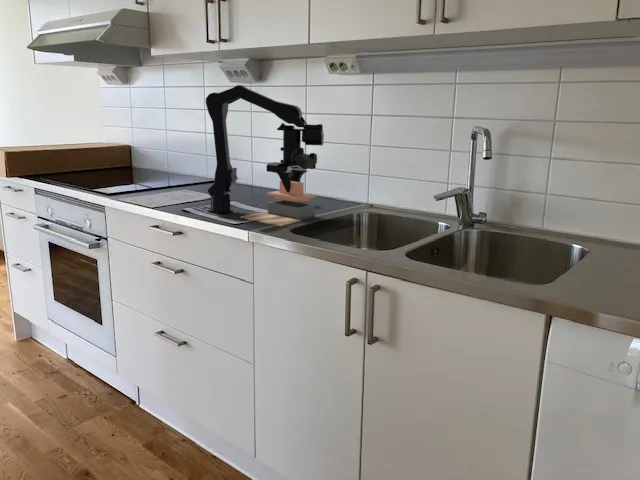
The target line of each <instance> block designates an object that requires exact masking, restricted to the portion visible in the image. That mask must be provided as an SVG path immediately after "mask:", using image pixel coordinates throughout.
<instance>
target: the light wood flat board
mask: <svg viewBox="0 0 640 480" xmlns="http://www.w3.org/2000/svg"><path fill="white" fill-rule="evenodd" d="M239 217H240V219H243V218H244V220H248V221H253V222H257V221H258V222H259V223H263V224H267V225H273V226H276V225H277V227H284V226H288V225H289V226H290V225H293V224H297V223H300V222H302V220H303V219H302V220H298V219H293V218H287V217H282V216H277V215H272V214H268V212H267V213H266V212H257V213H252V214H247V215H242V216H239Z"/></svg>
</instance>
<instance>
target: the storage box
mask: <svg viewBox="0 0 640 480" xmlns="http://www.w3.org/2000/svg"><path fill="white" fill-rule="evenodd" d="M315 209H316V205H315V204H311V203H306V202H293V201H287V200H282V199H278V200H274V201H268V202H267V214H272V215H277V216H282V217H287V218H293V219H298V220H300V219H302V220H305V219H304V218H306V219H309V217H310V218H313V217H312V216H316V215H315V213H316V212H315Z"/></svg>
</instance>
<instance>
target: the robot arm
mask: <svg viewBox="0 0 640 480" xmlns="http://www.w3.org/2000/svg"><path fill="white" fill-rule="evenodd" d="M240 99H241V100H243V101H245V102H248V103H250V104H252V105H254V106H257V107H259V108H262V109H263V110H266V111H269V112H270V113H272V114H274V116H276V117H277V118H279V119H281V120H282V121H283V122H281V124H280V125H279V126H278V127H276V130H277V131H283V132H282V133H283V134H282V136H283V137H282V143H283V145H282V146H281V147H280V152H281V151H282V159H280V162H278V161H277V162H275V161H274V162H268V163H267V164H266V172H269V173H275V174H277V175H278V177H279V179H280V181H282V183H283V185H284V187H285V189H286V192H290V185H291V181H295V182H300V181H301V179H302V177H303V175H305V173H308V169H309V170H313V169H316V167H317V163H318V154H316V153H315V152H311V153H305V149H304V147H301V146H302V145H301V143H304V144H305V146H324V140H325V139H324V137H325V134H324V127H323V126H324V125H323V124H319V123H317V124H308V122H307V121H306V119H304V117H303V112H302V110H301V108H300V107H299V106H297V105H295V104H290V103H285V102H281V101H278V100H275V99H272V98H271V97H268V96H267V95H263V94H261V93H260V92H257V91H254V90H252V89H249V88H247V87H246V86H245V85H241V84H238V85H235V86H234V87H231V88H228V89H225V90H222V91H221V92H211V93H208V94H207V96H206V98H205V105H206V109H207V112H208V116H209V117H210V120H211V122H212V128H213V130H212V131H213V137H214V138H213V139H214V149H215V156H216V168H215V172H214V183H213V184H212V185H211V186H210V187H209V188H208V189H207V192H208V194H209V196H210V209H207V212H208V213H212V214H213V213H214V214H217V215H221V214H222V215H223V214H227V213H232V212H234V209H231V199H230V197H231V195H230V194H229V193H231V190H232V189H233V188H234V187H235V186H236V184H237V180H238V179H239V178H238V175H237V170H238V168H237V167H233V166H232V164H231V158H230V149H229V139H228V128H227V117H228V114H229V113H228V112H229V105H230V104H233V103H235V102H237V101H239V100H240ZM285 123H286V124H285ZM301 141H302V142H301Z"/></svg>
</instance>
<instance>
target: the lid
mask: <svg viewBox="0 0 640 480" xmlns="http://www.w3.org/2000/svg"><path fill="white" fill-rule="evenodd" d="M267 196H271V197H272V199H277V200H287V201H293V202H301V203H305V202H308V201H311V200H312V199H315V198H316V197H317V194H312V193H306V192H304V182H295V181H291V185H290V192H286V189H285V187H284V185H283V183H282V181H281V180H279V190H275V191H269V192H267Z"/></svg>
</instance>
